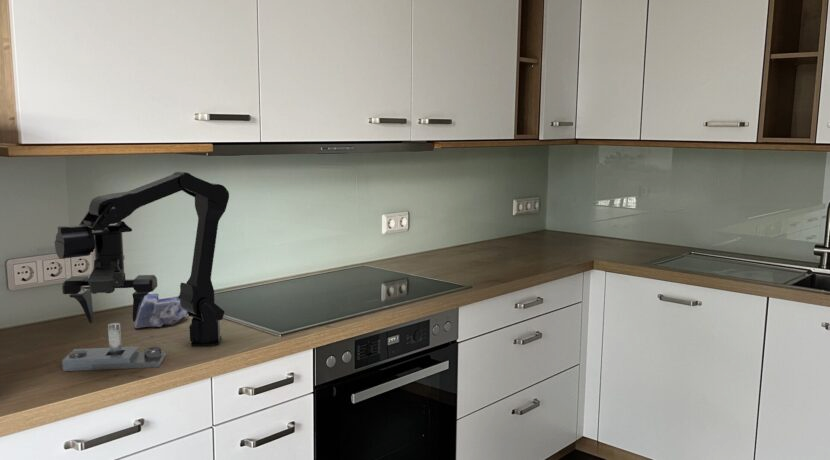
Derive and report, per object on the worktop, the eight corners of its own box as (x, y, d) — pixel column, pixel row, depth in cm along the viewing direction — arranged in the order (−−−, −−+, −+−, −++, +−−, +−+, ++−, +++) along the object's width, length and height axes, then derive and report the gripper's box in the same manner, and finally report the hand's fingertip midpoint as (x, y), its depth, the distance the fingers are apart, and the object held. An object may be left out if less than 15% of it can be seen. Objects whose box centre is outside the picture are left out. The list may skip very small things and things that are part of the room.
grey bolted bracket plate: (165, 355, 163) (165, 343, 163) (158, 367, 155) (158, 354, 155) (74, 359, 160) (74, 347, 160) (62, 371, 152) (62, 358, 152)
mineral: (140, 298, 180) (131, 288, 188) (136, 333, 181) (128, 322, 189) (196, 297, 188) (185, 288, 196) (192, 331, 189) (182, 320, 197)
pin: (123, 361, 159) (121, 322, 158) (120, 364, 156) (118, 325, 155) (111, 361, 159) (109, 323, 157) (108, 365, 156) (106, 326, 155)
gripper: (50, 261, 144) (55, 333, 147) (145, 259, 147) (148, 330, 150) (68, 251, 155) (73, 319, 158) (156, 250, 158) (159, 316, 160)
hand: (113, 321), depth 156 cm, fingers open, 9 cm apart
